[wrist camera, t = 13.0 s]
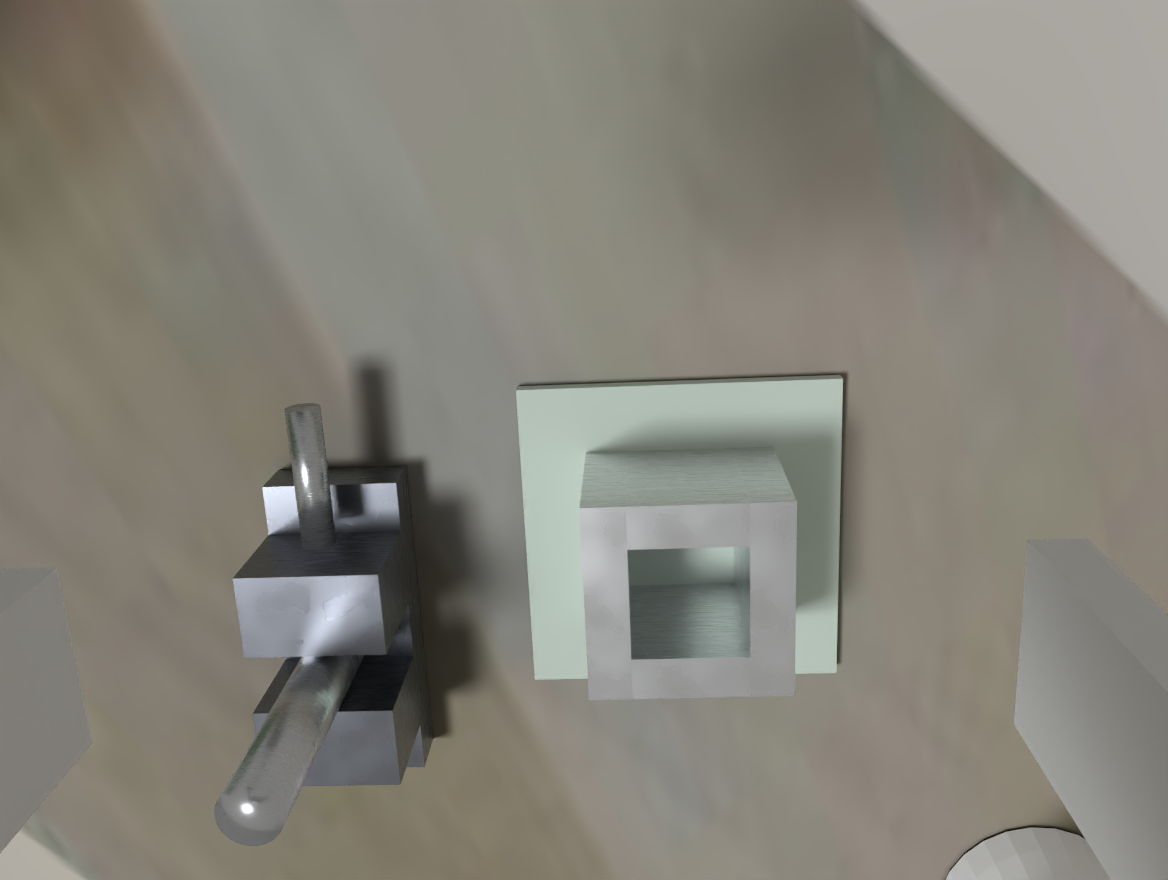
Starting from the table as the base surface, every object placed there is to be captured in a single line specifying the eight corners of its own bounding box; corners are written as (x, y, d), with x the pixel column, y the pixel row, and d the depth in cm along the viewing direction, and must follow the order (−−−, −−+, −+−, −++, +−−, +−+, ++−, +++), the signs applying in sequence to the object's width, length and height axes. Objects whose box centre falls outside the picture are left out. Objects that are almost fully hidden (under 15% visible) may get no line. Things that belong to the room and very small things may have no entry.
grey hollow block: (585, 452, 42) (579, 508, 36) (773, 446, 41) (797, 501, 36) (593, 621, 44) (588, 700, 38) (772, 617, 43) (794, 695, 38)
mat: (517, 386, 42) (515, 390, 41) (839, 374, 41) (842, 378, 40) (536, 672, 45) (534, 679, 44) (833, 665, 44) (836, 672, 44)
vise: (267, 382, 42) (106, 506, 29) (397, 377, 42) (294, 500, 29) (314, 741, 46) (194, 987, 33) (432, 739, 46) (357, 986, 33)
